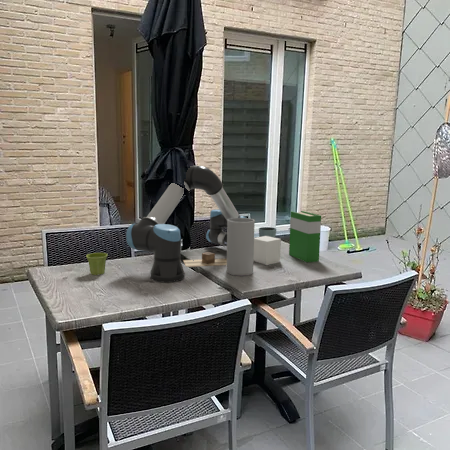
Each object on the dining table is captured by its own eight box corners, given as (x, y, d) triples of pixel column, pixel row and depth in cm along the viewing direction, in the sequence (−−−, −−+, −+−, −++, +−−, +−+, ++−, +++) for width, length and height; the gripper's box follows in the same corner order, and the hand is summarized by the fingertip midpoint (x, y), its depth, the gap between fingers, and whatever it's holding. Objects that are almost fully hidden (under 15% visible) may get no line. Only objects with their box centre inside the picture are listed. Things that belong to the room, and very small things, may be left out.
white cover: (280, 261, 233) (280, 239, 231) (266, 265, 226) (266, 241, 224) (265, 257, 240) (266, 235, 238) (251, 261, 233) (252, 238, 231)
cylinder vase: (221, 272, 212) (221, 219, 207) (238, 267, 221) (239, 216, 216) (241, 278, 203) (242, 223, 199) (258, 272, 212) (260, 220, 208)
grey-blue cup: (257, 250, 258) (257, 229, 256) (259, 246, 268) (259, 226, 265) (275, 251, 256) (275, 230, 254) (276, 247, 266) (276, 227, 264)
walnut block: (214, 262, 227) (214, 253, 226) (207, 264, 224) (207, 255, 223) (208, 260, 230) (209, 252, 229) (201, 262, 227) (201, 253, 226)
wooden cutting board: (234, 266, 223) (234, 264, 223) (186, 267, 218) (186, 266, 218) (229, 259, 236) (229, 258, 236) (183, 261, 231) (183, 260, 231)
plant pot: (102, 277, 202) (101, 258, 200) (83, 275, 203) (82, 256, 202) (111, 271, 211) (111, 253, 209) (93, 270, 212) (92, 252, 211)
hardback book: (288, 254, 248) (290, 211, 244) (300, 253, 251) (302, 210, 247) (306, 262, 233) (309, 216, 228) (318, 261, 235) (321, 215, 231)
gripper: (243, 243, 263) (270, 249, 247) (210, 249, 246) (237, 256, 231) (243, 230, 262) (270, 236, 246) (210, 235, 245) (237, 242, 230)
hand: (254, 246), depth 238 cm, fingers open, 13 cm apart
